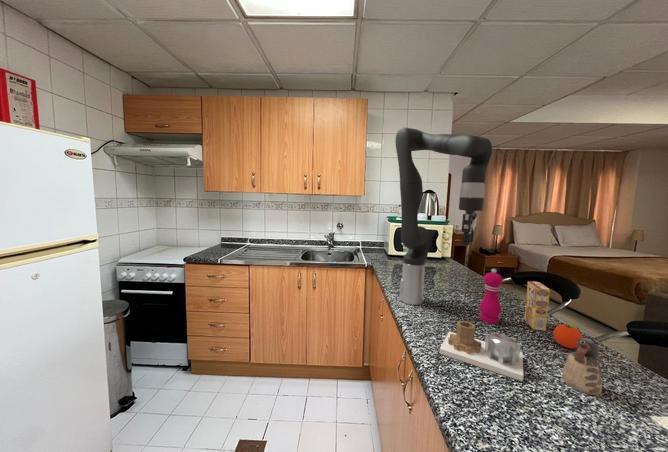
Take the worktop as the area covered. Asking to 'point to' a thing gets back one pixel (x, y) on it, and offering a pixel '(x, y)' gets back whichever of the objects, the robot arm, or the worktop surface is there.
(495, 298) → the pepper mill
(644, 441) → the worktop surface
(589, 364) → the figurine
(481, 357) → the carrier plate
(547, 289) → the candy box
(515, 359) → the sun gear
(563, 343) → the clementine
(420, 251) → the robot arm
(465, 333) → the planet gear
